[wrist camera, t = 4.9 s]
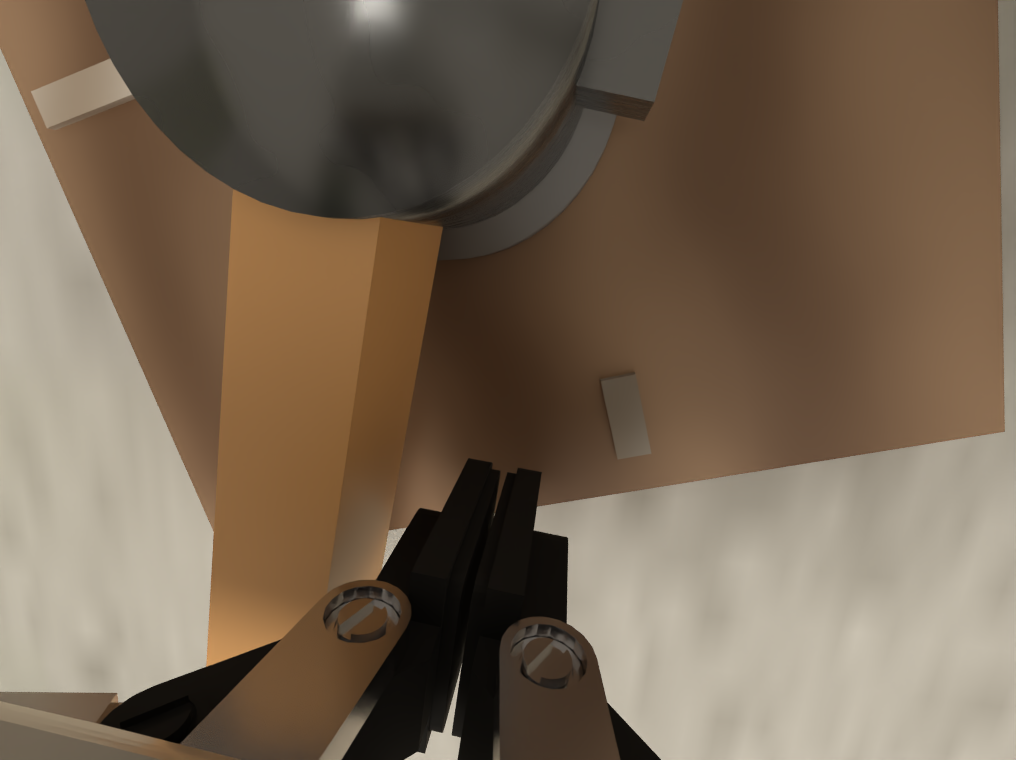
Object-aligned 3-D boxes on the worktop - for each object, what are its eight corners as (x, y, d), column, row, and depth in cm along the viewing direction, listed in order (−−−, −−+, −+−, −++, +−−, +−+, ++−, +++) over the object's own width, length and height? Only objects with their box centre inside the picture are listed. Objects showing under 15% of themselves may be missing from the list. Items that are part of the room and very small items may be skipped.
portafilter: (699, -99, 8) (821, -441, 4) (493, 645, 12) (455, 828, 8) (238, -185, 8) (-56, -559, 4) (202, 559, 13) (41, 692, 9)
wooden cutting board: (882, -738, 8) (1058, -1304, 5) (938, 403, 12) (1047, 449, 9) (-31, -202, 12) (-227, -348, 9) (266, 519, 16) (199, 578, 13)
